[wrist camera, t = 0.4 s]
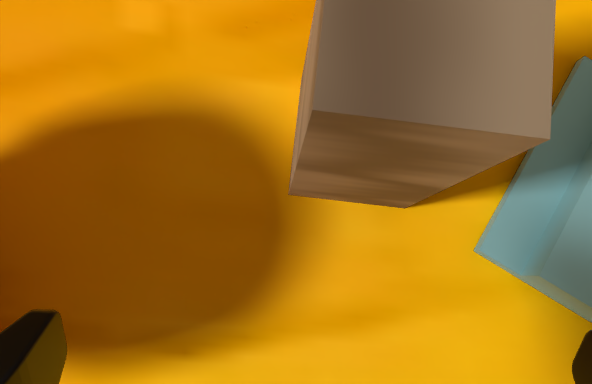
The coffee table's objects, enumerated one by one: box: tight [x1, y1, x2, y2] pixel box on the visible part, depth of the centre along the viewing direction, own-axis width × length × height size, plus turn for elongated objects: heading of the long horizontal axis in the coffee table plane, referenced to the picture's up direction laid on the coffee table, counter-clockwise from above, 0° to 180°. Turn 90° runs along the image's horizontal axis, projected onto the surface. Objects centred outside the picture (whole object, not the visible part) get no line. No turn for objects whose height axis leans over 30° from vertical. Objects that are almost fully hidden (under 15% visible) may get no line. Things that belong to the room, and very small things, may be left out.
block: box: [288, 0, 556, 208], centre depth 18 cm, size 5×5×12 cm
